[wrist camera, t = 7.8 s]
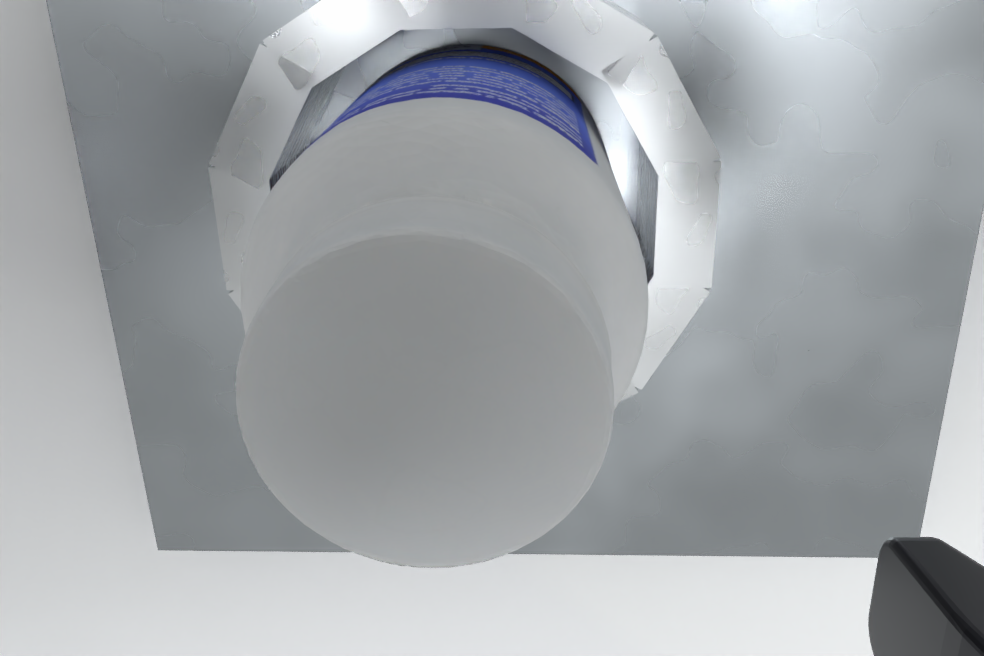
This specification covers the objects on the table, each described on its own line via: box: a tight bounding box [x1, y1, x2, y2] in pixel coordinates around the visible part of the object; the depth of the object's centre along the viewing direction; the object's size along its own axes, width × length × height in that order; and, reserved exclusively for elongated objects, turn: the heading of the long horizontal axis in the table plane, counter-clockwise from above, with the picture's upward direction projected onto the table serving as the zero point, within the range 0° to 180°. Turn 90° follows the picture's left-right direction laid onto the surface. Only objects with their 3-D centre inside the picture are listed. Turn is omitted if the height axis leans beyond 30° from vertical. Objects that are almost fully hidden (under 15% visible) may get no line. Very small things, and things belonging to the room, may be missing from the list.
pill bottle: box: [235, 44, 649, 568], centre depth 14 cm, size 5×5×10 cm
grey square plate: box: [46, 0, 984, 558], centre depth 18 cm, size 18×14×4 cm
